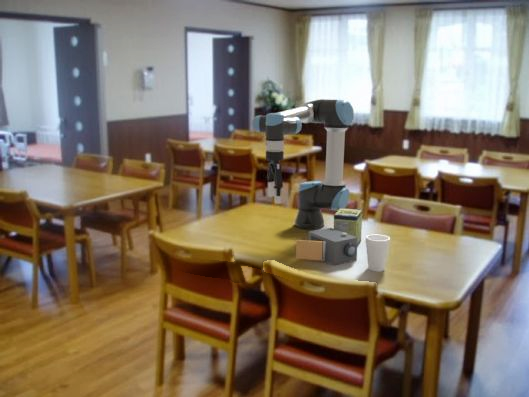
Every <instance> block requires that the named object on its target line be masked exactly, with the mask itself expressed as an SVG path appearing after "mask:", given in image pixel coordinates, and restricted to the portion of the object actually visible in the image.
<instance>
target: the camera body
mask: <svg viewBox="0 0 529 397" xmlns="http://www.w3.org/2000/svg"><path fill="white" fill-rule="evenodd" d="M307 239H308V241H322V256H323V241H325V242H326V252H325V261H324V262H326V263H328V264H330V265H333V266H337V265H342V264H346V263H351V262H354V261H355V262H356V261H357V259H358V256H357V255H358V247H357V237H355V236H352V235H349V234H347V233H344V232H341V231H338V230H335V229H334V227H326V228H322V229H321V228H319V229H314V230H310V231H308V238H307Z"/></svg>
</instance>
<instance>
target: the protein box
mask: <svg viewBox="0 0 529 397" xmlns="http://www.w3.org/2000/svg"><path fill="white" fill-rule="evenodd" d="M362 224H363V209H359V208H346V207H345V208H340V209H339V210H338V211H337V212H335V213H334V215H333V229H335V230H338V231H341V232H344V233H347V234H349V235H352V236H355V237H357V248H358V247H359V245H360V244H361V242H362V227H363V226H362Z"/></svg>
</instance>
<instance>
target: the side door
mask: <svg viewBox="0 0 529 397" xmlns="http://www.w3.org/2000/svg"><path fill="white" fill-rule="evenodd" d="M295 242H296V244H295V246H296V247H295V248H296V250H295V252H296V253H295V259H298V260H309V261H324V262H326V261H325V252H326V242H325V241H323V256H322V241H308V240H307V239H305V240H303V239H296V240H295Z"/></svg>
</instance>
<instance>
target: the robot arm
mask: <svg viewBox="0 0 529 397" xmlns="http://www.w3.org/2000/svg"><path fill="white" fill-rule="evenodd" d="M354 115H355V113H354V108H353V105H352V103H351V102H349V101H348V100H347V99H346V100H345V99H316V100H312V101H309V102H304V103H302V104H299V106H298V107H293V108H289V109H287V110H282V111H278V112H270V113H267V114H266V115H262V114H259V115H256V116H253V119H252V122H251V124H252V126H251V127H252V130H254V132H256V133H262V134H265V142H264V145H265V149H266V151H265V160H266V161H268V166H267V174H266V179H267V197H269V198H273V197H274V204H277V205H279V204H282V189H283V187H284V186H283V185H284V184H283V173H282V164H281V163H280V161H283V160H284V159H285V158H284V155H285V152H284V151H283V150H284V149H285V139H284V137H285V136H287V135H293V136H294V135H295V134H299V133H301V132H300V131H302V126H303V124H309V123H316V124H324V125H323V126H324V129H325V130H326V155H325V173H324V174H325V179H324V180H323V181H321V180H311V181H304V182H300V183H299V186H298V212H297V214H296V218H295V220H294V226H295V225H296V226H297V228H298V227H300V229H303V228H305V229H304V230H317V229H316V228H318V229H321V227H322V228H324V227H325V220H324V216H323V214H322V209H324V210H330V211H334V212H335V211H338V210H339V209H340V208H346V207H347V205H348V204H349V201H350V197H351V193H350V190H349V189H348V188H347V187H346V185H347V184H346V182H345V181H344V180H343V178H344V163H345V162H344V159H345V158H344V157H345V137H346V135H345V134H346V131H347V130H348V129H349V125H352V123H353V121H354V118H355V116H354ZM302 123H303V124H302ZM296 226H295V227H296ZM323 226H324V227H323Z"/></svg>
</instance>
